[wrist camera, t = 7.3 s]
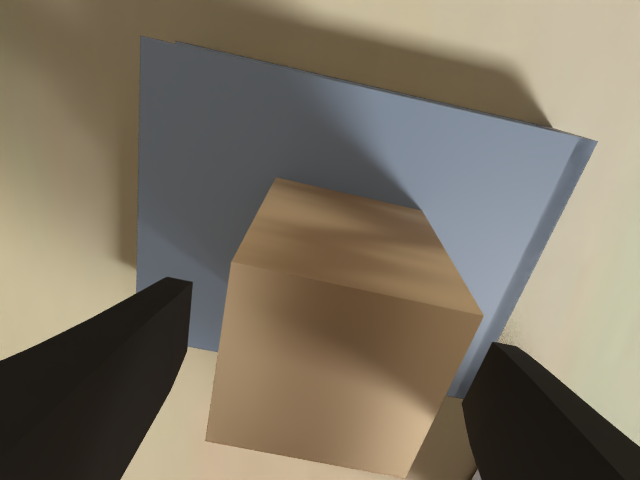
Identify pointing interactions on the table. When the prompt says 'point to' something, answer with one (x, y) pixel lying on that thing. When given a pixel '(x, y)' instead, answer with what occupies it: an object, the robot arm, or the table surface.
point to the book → (336, 175)
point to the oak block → (338, 331)
